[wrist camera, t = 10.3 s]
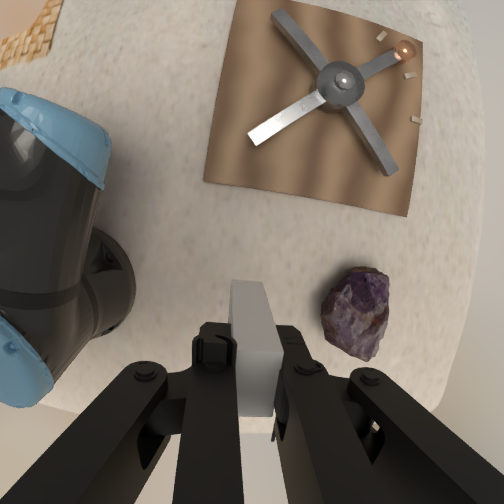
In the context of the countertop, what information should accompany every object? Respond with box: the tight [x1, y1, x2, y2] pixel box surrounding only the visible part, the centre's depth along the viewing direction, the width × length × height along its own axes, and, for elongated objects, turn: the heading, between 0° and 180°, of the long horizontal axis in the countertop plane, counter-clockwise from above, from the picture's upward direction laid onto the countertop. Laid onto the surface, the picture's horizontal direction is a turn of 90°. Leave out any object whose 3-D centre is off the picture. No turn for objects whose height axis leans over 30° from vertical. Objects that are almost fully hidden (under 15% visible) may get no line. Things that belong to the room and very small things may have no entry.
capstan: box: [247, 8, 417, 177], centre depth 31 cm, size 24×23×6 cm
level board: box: [203, 0, 423, 217], centre depth 34 cm, size 26×26×2 cm
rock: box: [321, 267, 389, 362], centre depth 38 cm, size 12×9×10 cm
